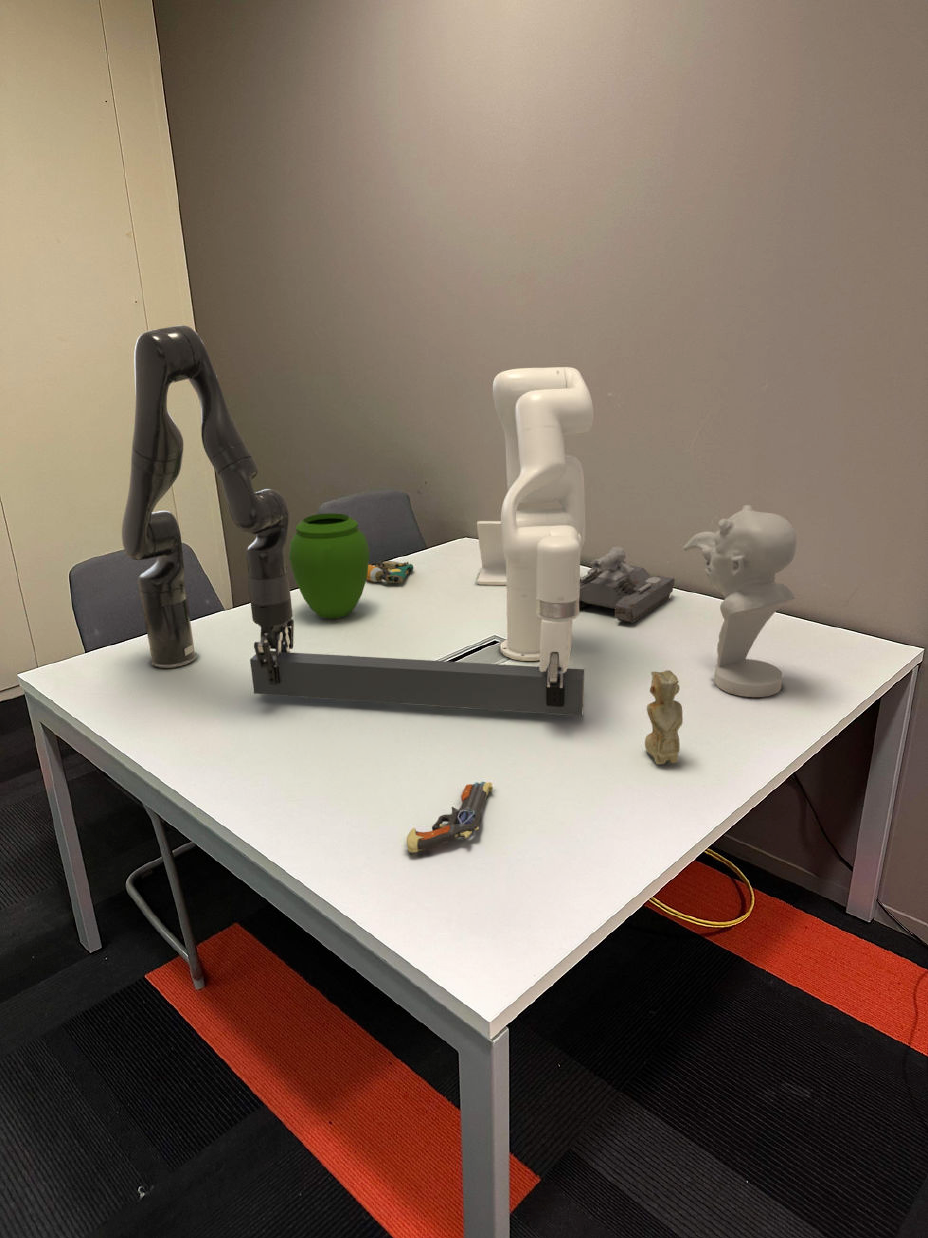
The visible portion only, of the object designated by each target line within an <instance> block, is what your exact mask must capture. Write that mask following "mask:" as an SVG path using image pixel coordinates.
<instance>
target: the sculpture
mask: <svg viewBox="0 0 928 1238" xmlns="http://www.w3.org/2000/svg"><path fill="white" fill-rule="evenodd" d="M650 673H651V684H650V687H649V693H650V694H651V695H652V696H653V697H654V701H653V702H650V703H648V704H647V706H646V713H647V715H648V718H649V721H650V724H651V727H652V730H651V731H652V732H650V733H649V734H647V735H646V736H645V739H644V748H645V751H646V752H647V753H648V754H649V755H651V756H652V757H653V758H654V762H655V764H657V765H664V764H666V762H668V763H669V764H676V763H678V759H679V755H678V754H679V752H680V748H681V745H680V737H679V729H680V728H681V727H682V725H683V723H684V722H683V720H684V719H683V717H684V716H683V706H682V703H680V702H679V701H678V700H675V697H676V695H678V693H679V692H680V684H679V682H680V680H679V678H678V677H677V675H675V673H674V672H672V671H671V670H670V669H669V670H664V671H651V672H650Z"/></svg>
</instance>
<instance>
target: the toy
mask: <svg viewBox="0 0 928 1238" xmlns="http://www.w3.org/2000/svg"><path fill="white" fill-rule="evenodd" d="M626 557H627V556H626V551H625V549H624V548H622V547H621V546H614V547H612V548H611V549H610V550H609V552H608V553H607V554H605V555H604V556H601V557H599V558H598V559H597V557H596V558H594V559H593V560H592V561H590V562H589V563H590V564H591V565H592V567H591V568H590V569H589V570H587V573H586V575H584V576H582V577H580V592H579V610H581V609H582V608H585V607H586V606H588V605H592V606H598V607H602V608H603V607H604V608H609V609H613V610H614V618H615V619H617V620H618V621H621V622H626V623H631V624H634V623H635V622H637V621H638V620H640V619H641V618H642V617H644V616H645V615H647V614H648V613H650V612H651V611H652V610H654V609H655V608H657V607H659V606H660V605H661V604H663V603H664V602H666V601H667V600H669V598H670V596H671V594H672V593H673V591H674V585H675V580H676V579H675V578H673V577H668V576H663V575H656V576H655V577H654V576H651V574H650V573H649V572H648V571H647V570H646V568H644V567H641V566H635V565H629V564H628V563H627V562H626V561H625V559H626Z"/></svg>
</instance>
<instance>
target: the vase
mask: <svg viewBox="0 0 928 1238" xmlns="http://www.w3.org/2000/svg"><path fill="white" fill-rule="evenodd" d="M358 524H359V523H358V521H356V520H355V519H353V518H352V517H350V516H349V515H347V514H344V513H335V512H334V513H333V512H331V513H320V514H313V515H310V516H307V517H305V518H303V519H302V520H301V521H300V522H299V523H298V524H297V525H296V526H295V532H296V533H295V534H294V536H293V537H292V538H291V540H290V542H289V551H288V559H289V564H290V566H291V567H290V568H291V570H292V575H293V578H294V581H295V584H296V586H297V587H298V589H299V591H300V593H301V596H302V597H303V600H304V601H305V603H306V604H307V605H308V607H309V608H310V609H311V611H312V612H314V613H315V614H316V615H317V616H318V617H320V618H324V619H326V620H327V619H329V620H336V619H341V618H345V617H347V616H349V615H350V614H351V613H352V612H353V611H354V610H355V608H356V607H357V605H358V604H359V601H360V599H361V597H362V595H363V592H364V588H365V586H366V581H367V579H366V578H367V573H368V565H369V561H370V560H369V559H370V548H369V545H368V541H367V537H366V535H365V534H364V533H363V532H362V531H361V530H360V529H359V527H358Z"/></svg>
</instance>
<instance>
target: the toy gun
mask: <svg viewBox="0 0 928 1238" xmlns="http://www.w3.org/2000/svg"><path fill="white" fill-rule="evenodd" d="M493 789H494V787H493V783H492V782H485V781H481V782H480V783H479V782H474V783H473V784H471V783H470V784H468V783H467V784H466V785H465V786H464V788H463V790H462V793H461V795H460V798H461V800H460V801H461V802H462V803H461V806H460V807H459V808H458V809H457V808H456V807H455V806H451V813H449V814H442V815H440V816H438V819H437V821H436V822H435V823H434V824H432V826H431V830H430V831H418V830H416V827H413V828H411V829H410V831H409V832H408V834H407V836H406V845H407V850H408V852H409V853H418V852H419V851H424V850H428V849H432V848H435V847H437V846H440V845H442V844H447V843H450V842H453V841H455V840H458V839H459V838H462V837H464V839H465V840H466V839H468V838H469V837H470V836H471V835H473V834H472V833H473V832H474V831H477V830H479V828H480V824H481V821H482V817H483V808H484V804H485V802H486V799H487V797H488V795H489V792H492V791H493ZM444 822H446V823H447V824H446V825H444V824H443V823H444Z"/></svg>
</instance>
